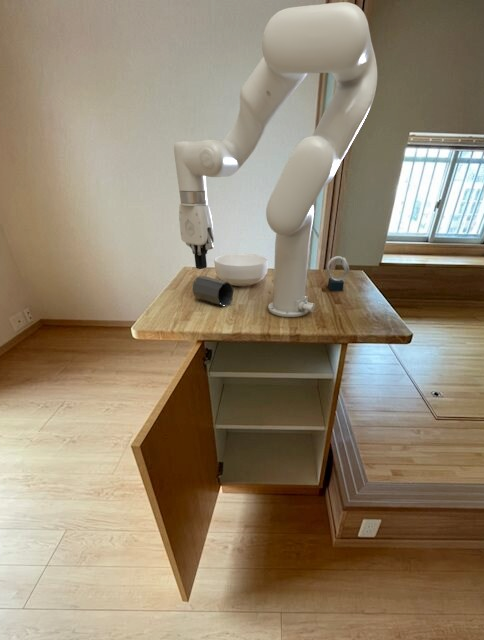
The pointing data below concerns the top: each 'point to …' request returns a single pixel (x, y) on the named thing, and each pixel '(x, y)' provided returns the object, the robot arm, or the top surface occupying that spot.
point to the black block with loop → (337, 283)
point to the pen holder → (213, 290)
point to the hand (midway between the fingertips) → (201, 267)
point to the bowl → (241, 268)
